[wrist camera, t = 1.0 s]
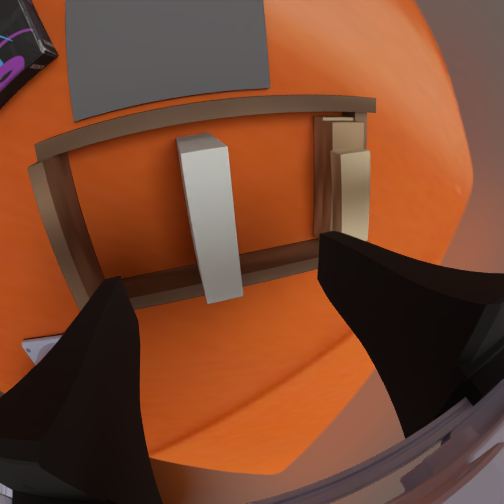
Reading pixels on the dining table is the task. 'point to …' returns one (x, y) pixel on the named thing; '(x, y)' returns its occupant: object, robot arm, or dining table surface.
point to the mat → (161, 50)
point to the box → (21, 46)
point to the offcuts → (341, 177)
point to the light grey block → (211, 214)
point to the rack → (183, 278)
